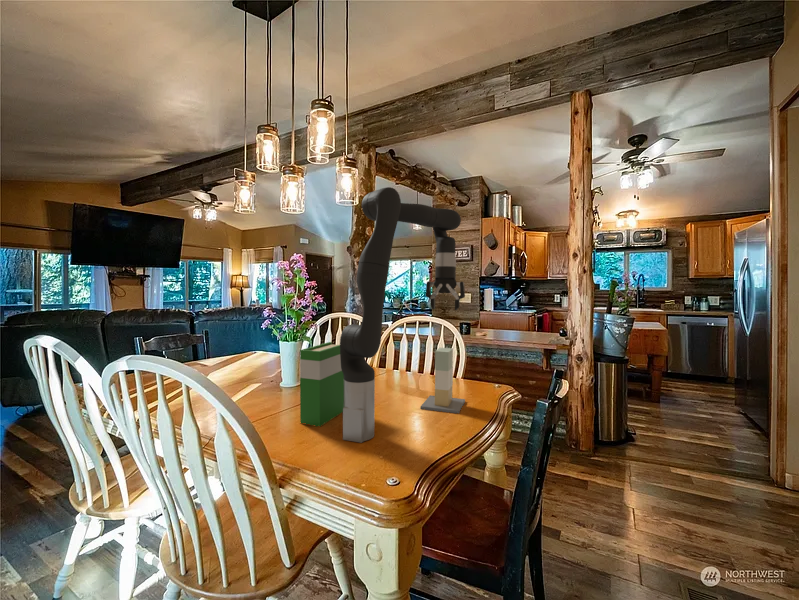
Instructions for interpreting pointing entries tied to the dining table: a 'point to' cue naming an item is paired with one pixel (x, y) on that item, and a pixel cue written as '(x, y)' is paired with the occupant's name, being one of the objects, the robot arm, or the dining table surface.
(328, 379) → the hardback book
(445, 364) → the sage brick
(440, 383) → the off white brick
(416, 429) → the dining table surface
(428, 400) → the board
